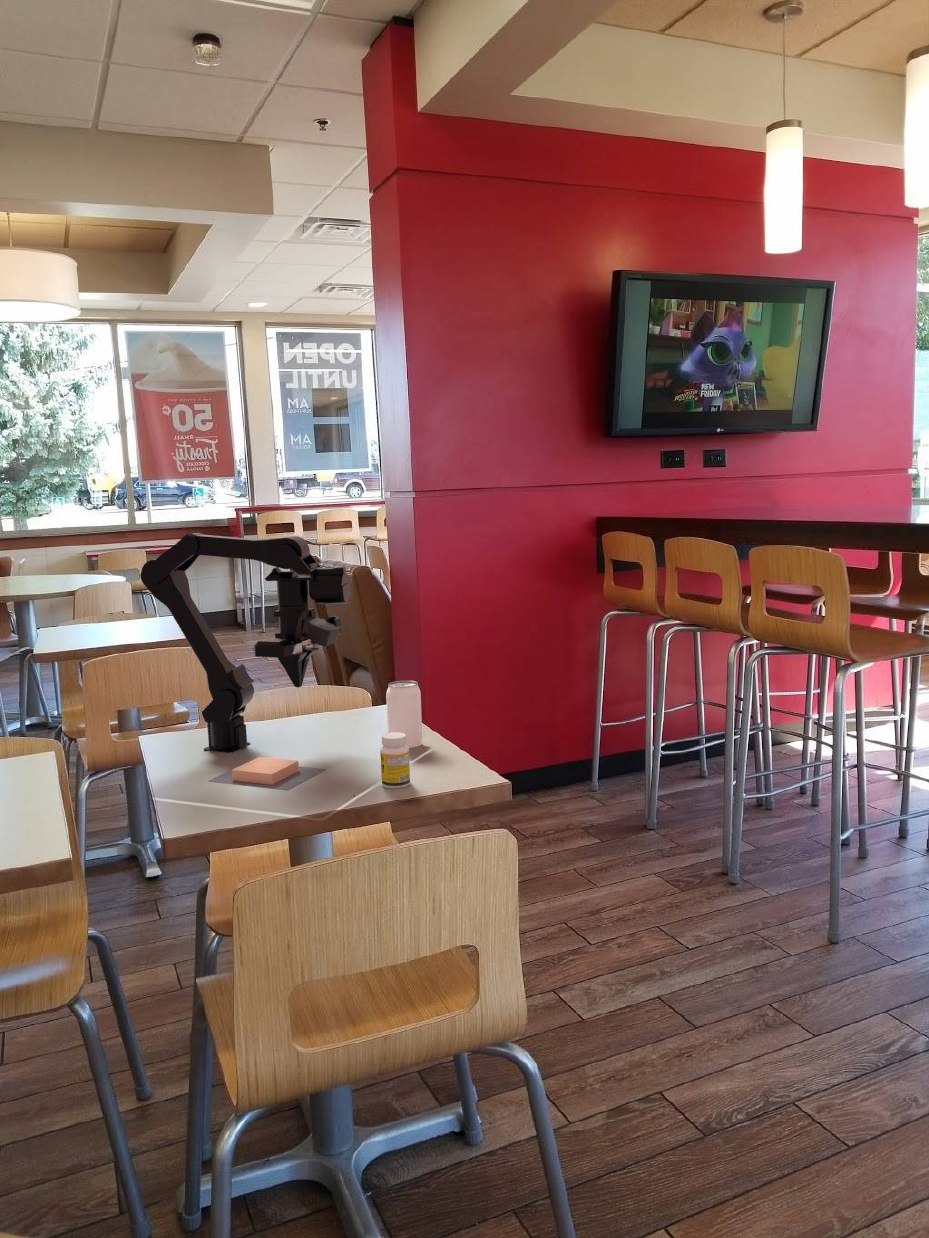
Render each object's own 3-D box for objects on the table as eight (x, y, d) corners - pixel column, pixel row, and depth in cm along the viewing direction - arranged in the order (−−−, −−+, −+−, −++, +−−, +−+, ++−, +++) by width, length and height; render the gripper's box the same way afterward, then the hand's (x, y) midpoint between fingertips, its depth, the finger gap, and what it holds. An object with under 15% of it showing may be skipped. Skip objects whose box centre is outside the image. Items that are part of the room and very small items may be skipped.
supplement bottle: (383, 780, 157) (381, 731, 156) (411, 780, 157) (409, 731, 156) (380, 789, 152) (377, 739, 151) (409, 789, 152) (407, 738, 151)
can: (417, 750, 174) (415, 687, 173) (384, 749, 176) (381, 686, 174) (426, 741, 181) (424, 680, 179) (393, 740, 182) (391, 679, 180)
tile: (260, 767, 165) (232, 780, 158) (259, 756, 165) (231, 769, 158) (298, 771, 162) (272, 785, 155) (298, 760, 162) (272, 774, 155)
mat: (207, 783, 158) (207, 780, 158) (249, 763, 169) (249, 761, 169) (288, 792, 152) (288, 790, 152) (326, 771, 163) (326, 769, 163)
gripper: (304, 612, 162) (308, 700, 164) (356, 599, 179) (360, 679, 182) (250, 610, 167) (255, 696, 169) (306, 598, 184) (310, 676, 186)
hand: (298, 686), depth 176 cm, fingers closed
